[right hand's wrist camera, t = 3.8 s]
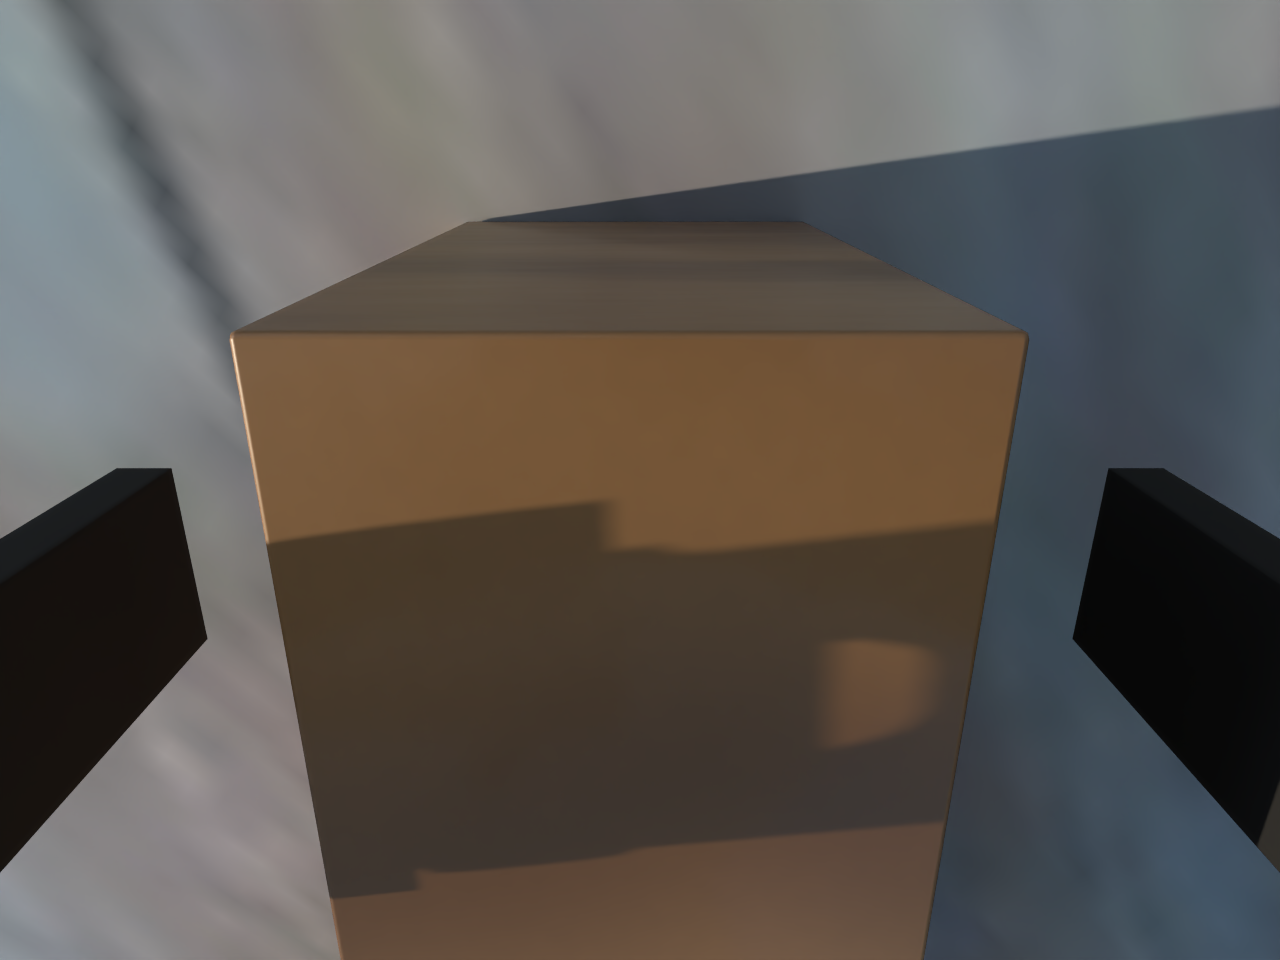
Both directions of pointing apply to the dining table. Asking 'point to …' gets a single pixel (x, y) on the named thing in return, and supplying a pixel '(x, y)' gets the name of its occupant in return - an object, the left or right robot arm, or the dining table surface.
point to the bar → (630, 586)
